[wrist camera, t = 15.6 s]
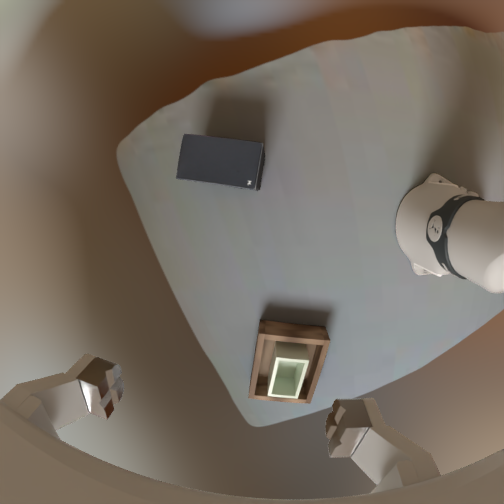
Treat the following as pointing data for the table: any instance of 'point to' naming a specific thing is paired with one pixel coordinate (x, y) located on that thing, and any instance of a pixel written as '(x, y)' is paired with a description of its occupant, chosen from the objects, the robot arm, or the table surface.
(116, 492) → the robot arm
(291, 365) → the sage crate
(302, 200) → the table surface
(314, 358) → the walnut crate
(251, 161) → the small box
